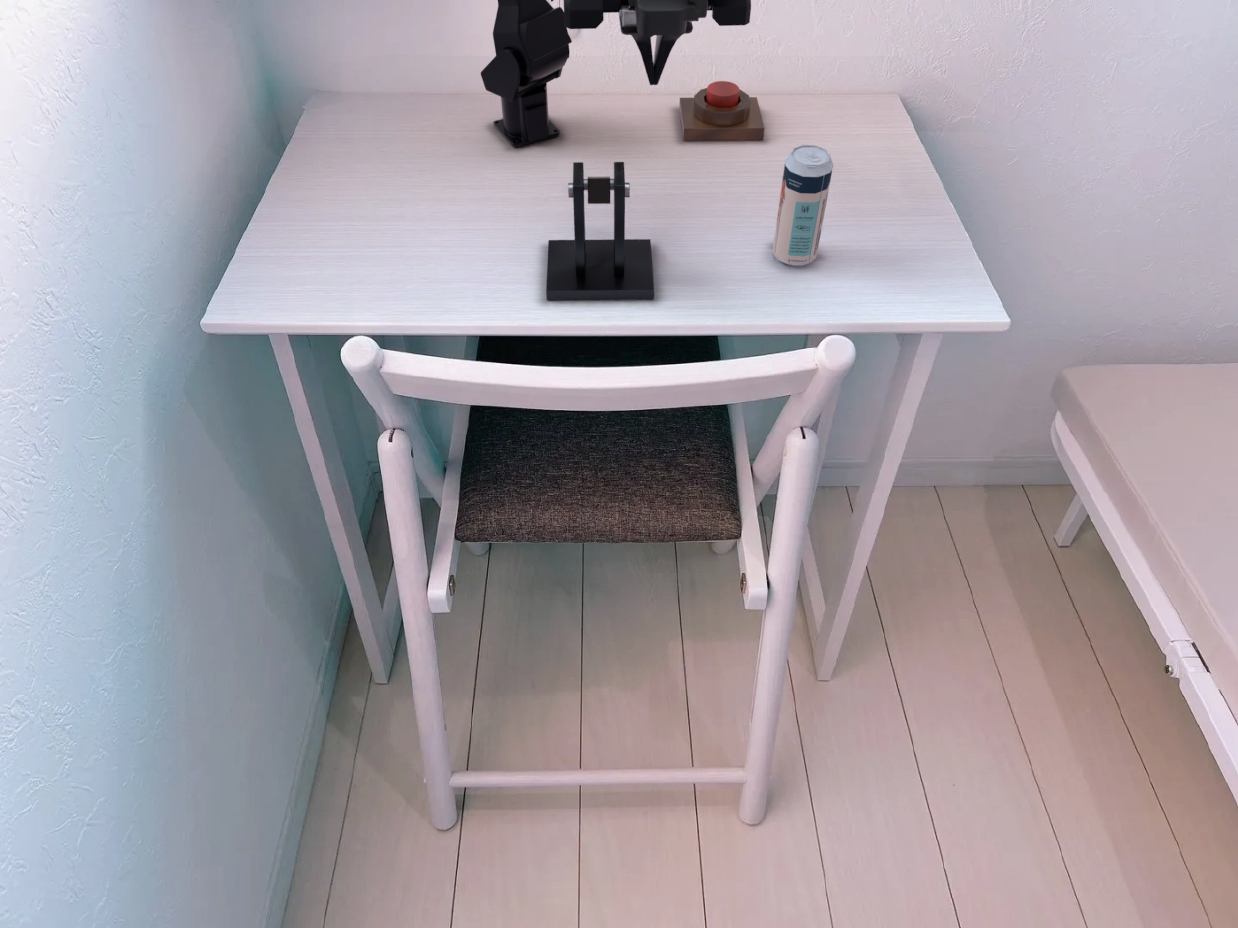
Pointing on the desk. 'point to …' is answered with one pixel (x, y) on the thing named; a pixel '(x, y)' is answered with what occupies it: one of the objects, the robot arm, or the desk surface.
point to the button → (722, 94)
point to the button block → (720, 119)
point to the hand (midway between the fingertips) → (653, 83)
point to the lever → (598, 189)
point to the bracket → (599, 254)
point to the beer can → (802, 204)
